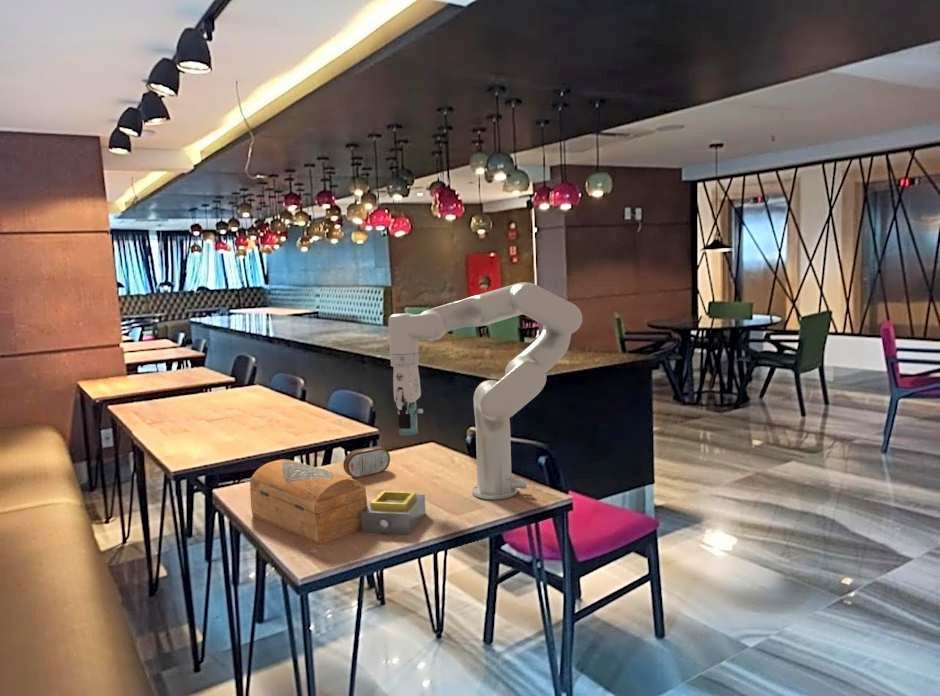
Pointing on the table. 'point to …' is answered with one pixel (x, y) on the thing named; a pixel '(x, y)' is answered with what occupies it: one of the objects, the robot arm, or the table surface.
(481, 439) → the robot arm
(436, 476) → the table surface
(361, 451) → the tin
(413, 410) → the spout can
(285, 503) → the wooden box
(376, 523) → the grey yellow box
